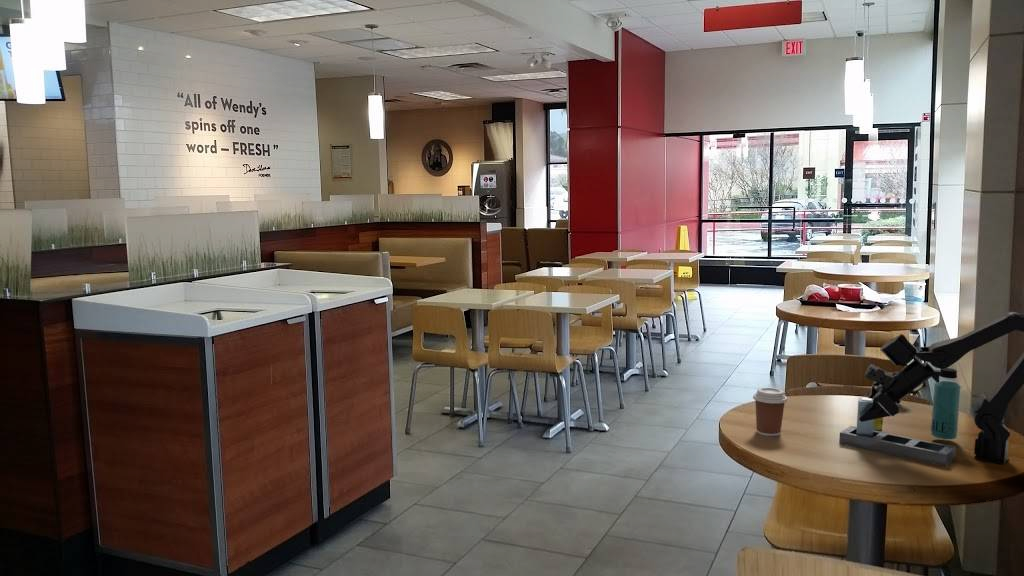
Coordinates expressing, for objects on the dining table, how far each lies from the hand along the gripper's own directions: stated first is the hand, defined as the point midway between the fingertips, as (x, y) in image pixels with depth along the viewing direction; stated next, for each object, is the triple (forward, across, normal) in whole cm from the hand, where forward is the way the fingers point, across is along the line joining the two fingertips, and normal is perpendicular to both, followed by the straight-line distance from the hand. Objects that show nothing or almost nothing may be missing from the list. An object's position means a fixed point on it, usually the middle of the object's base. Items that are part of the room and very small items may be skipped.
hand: (859, 415), depth 217 cm
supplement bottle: (+3, -13, +8) cm, 16 cm away
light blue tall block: (+4, 0, +6) cm, 8 cm away
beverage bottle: (-10, -11, +21) cm, 25 cm away
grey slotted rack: (-1, +3, +12) cm, 12 cm away
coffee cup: (+22, 0, -11) cm, 24 cm away
